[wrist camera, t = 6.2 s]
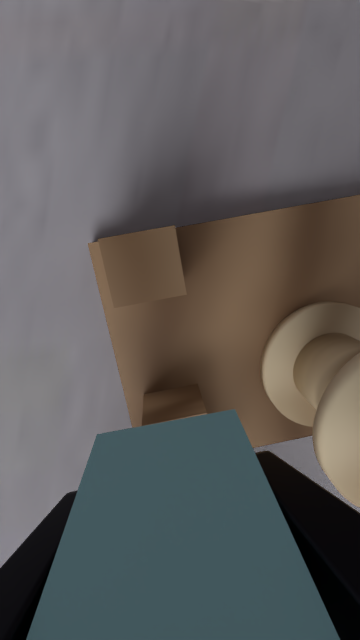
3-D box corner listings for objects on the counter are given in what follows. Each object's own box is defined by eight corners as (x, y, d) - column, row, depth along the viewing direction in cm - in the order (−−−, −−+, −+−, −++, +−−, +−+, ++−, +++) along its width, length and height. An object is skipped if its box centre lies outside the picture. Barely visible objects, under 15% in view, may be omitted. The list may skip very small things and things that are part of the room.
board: (466, 176, 16) (562, 155, 13) (453, 394, 20) (527, 431, 16) (91, 243, 16) (71, 243, 12) (143, 459, 19) (141, 514, 15)
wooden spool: (381, 290, 17) (524, 320, 10) (382, 406, 18) (504, 493, 12) (253, 314, 16) (318, 361, 10) (266, 429, 18) (329, 532, 12)
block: (234, 409, 8) (453, 886, 2) (251, 521, 9) (439, 1096, 3) (97, 434, 8) (-103, 1009, 2) (126, 545, 9) (50, 1183, 3)
